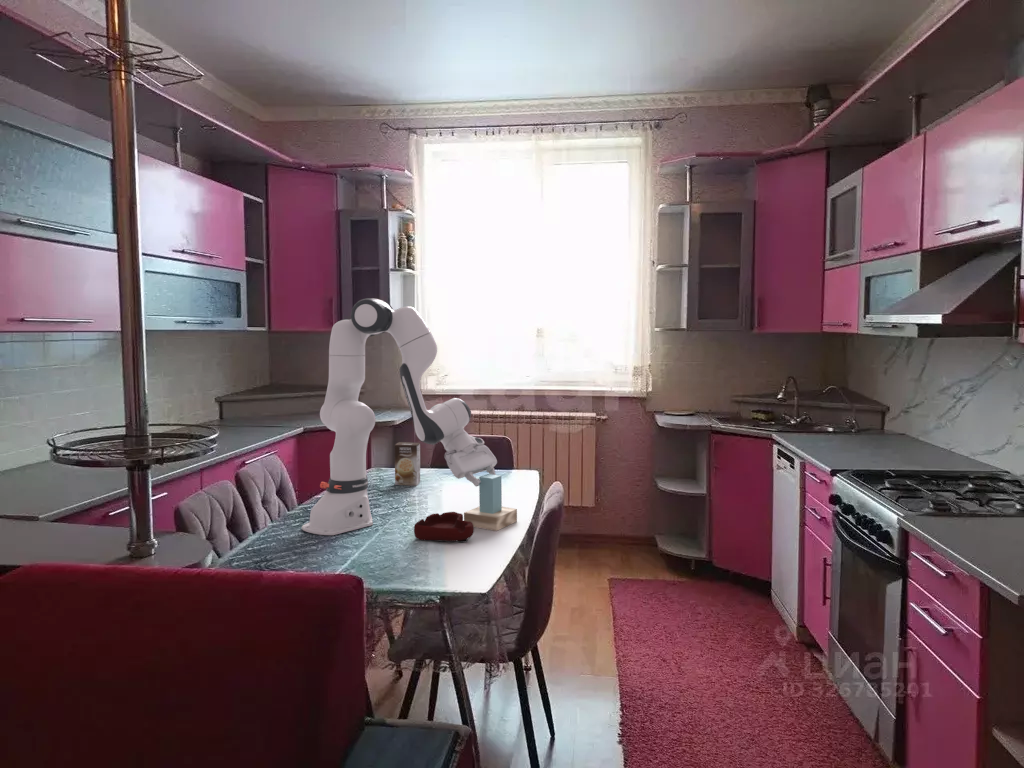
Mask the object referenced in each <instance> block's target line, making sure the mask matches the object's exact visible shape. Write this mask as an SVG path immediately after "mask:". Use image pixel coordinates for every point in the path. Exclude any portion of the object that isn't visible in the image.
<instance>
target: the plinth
mask: <svg viewBox="0 0 1024 768" xmlns="http://www.w3.org/2000/svg"><path fill="white" fill-rule="evenodd" d="M463 521H470V522H472V523H473V527H474V528H476V529H477V528H478V529H483V530H488V531H494V532H497V531H500V530H502V529H504V528H506V527H508V526H510V525H513V524H515V523H516V522H517V521H518V509H517V508H513V507H506V506H502V510H501V511H498V512H496V513H494V514H491V513H485V512H480V505H478V506H477V507H474V508H471V509H470V510H467V511H465V512H464V513H463Z"/></svg>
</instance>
